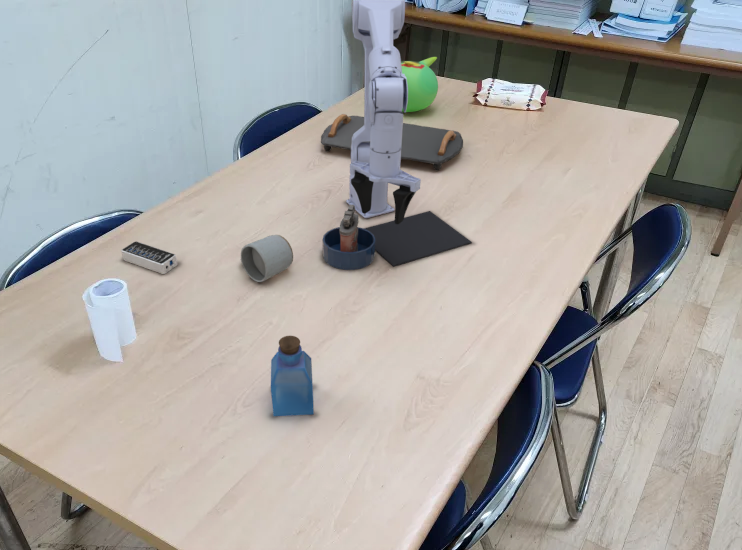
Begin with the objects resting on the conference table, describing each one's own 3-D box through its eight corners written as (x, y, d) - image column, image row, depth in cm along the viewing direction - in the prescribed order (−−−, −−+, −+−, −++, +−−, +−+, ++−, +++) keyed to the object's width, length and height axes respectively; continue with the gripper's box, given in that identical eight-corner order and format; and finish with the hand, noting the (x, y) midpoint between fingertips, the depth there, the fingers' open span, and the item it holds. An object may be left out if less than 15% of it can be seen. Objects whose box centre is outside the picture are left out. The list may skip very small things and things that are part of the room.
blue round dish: (314, 250, 136) (313, 233, 133) (358, 238, 140) (358, 221, 137) (338, 275, 129) (338, 257, 126) (384, 261, 133) (385, 244, 130)
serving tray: (469, 143, 180) (472, 121, 176) (448, 176, 164) (451, 152, 160) (341, 123, 190) (341, 101, 186) (310, 152, 174) (309, 129, 170)
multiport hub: (137, 250, 134) (135, 240, 133) (178, 264, 131) (176, 254, 129) (122, 260, 132) (120, 250, 130) (164, 274, 128) (161, 264, 126)
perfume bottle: (274, 388, 103) (268, 330, 95) (312, 387, 104) (310, 328, 96) (273, 416, 99) (267, 356, 91) (313, 414, 99) (311, 355, 91)
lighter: (352, 265, 131) (353, 221, 124) (336, 263, 131) (336, 219, 125) (360, 246, 137) (361, 202, 130) (345, 244, 137) (345, 200, 131)
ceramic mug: (297, 271, 129) (295, 237, 124) (267, 288, 125) (264, 253, 120) (261, 253, 135) (257, 220, 129) (231, 269, 130) (226, 235, 125)
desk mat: (354, 232, 142) (354, 230, 141) (429, 212, 149) (429, 210, 149) (393, 266, 131) (393, 265, 131) (471, 243, 139) (471, 241, 139)
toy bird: (374, 116, 194) (376, 65, 184) (381, 98, 206) (383, 48, 197) (433, 121, 192) (438, 69, 182) (437, 102, 204) (442, 52, 195)
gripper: (340, 145, 117) (340, 214, 126) (408, 163, 111) (403, 234, 120) (362, 134, 122) (360, 201, 130) (428, 151, 116) (422, 221, 124)
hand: (382, 216), depth 125 cm, fingers open, 7 cm apart
